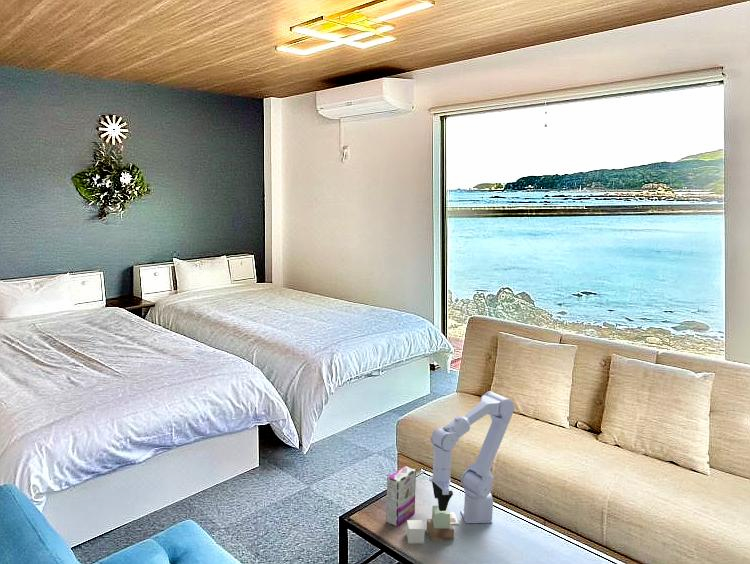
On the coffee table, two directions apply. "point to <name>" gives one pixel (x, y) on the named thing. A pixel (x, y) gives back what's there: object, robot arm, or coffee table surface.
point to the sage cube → (440, 518)
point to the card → (453, 519)
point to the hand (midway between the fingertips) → (440, 504)
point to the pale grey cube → (415, 531)
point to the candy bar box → (400, 495)
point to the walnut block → (439, 532)
